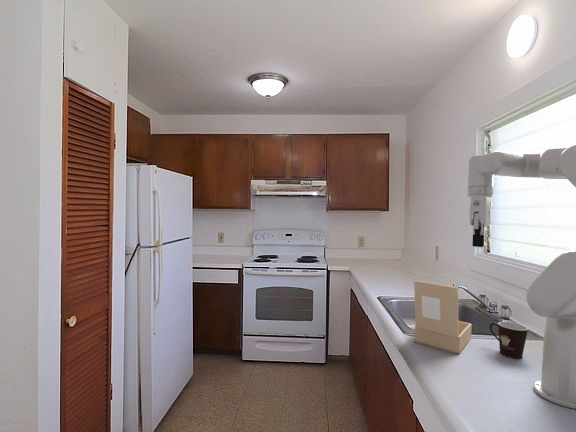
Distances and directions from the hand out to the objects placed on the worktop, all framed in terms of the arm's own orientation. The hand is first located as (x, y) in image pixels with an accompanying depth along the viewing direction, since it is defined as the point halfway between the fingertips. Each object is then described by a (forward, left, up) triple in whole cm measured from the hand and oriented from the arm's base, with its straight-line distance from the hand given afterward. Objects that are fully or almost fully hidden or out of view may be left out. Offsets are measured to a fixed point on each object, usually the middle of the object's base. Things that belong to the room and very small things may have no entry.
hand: (478, 246), depth 118 cm
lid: (+10, +7, -22) cm, 25 cm away
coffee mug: (-10, -9, -37) cm, 39 cm away
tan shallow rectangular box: (+10, -4, -37) cm, 38 cm away
